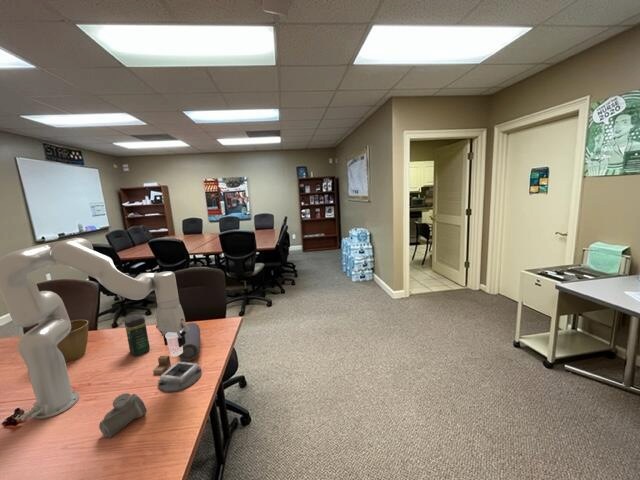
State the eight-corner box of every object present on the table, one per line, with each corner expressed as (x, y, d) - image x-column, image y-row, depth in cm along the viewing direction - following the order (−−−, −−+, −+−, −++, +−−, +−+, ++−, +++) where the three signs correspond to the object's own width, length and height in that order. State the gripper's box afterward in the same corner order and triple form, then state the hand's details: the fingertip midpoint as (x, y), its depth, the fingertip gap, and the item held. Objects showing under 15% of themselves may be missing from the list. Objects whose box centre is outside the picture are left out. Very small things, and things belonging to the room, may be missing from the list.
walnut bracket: (162, 374, 119) (160, 364, 118) (153, 374, 120) (151, 364, 119) (170, 365, 125) (169, 355, 124) (162, 365, 125) (160, 355, 125)
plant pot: (46, 364, 131) (38, 333, 128) (81, 346, 145) (74, 318, 142) (68, 368, 127) (60, 336, 124) (101, 350, 141) (95, 321, 138)
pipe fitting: (137, 406, 101) (130, 384, 98) (150, 415, 97) (142, 393, 94) (99, 434, 91) (90, 411, 88) (111, 446, 87) (102, 422, 84)
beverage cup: (188, 351, 115) (183, 319, 112) (174, 359, 110) (168, 326, 107) (179, 347, 118) (174, 316, 115) (165, 355, 113) (159, 323, 110)
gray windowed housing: (183, 394, 106) (181, 385, 105) (149, 389, 110) (147, 380, 110) (209, 368, 121) (208, 360, 121) (178, 364, 125) (177, 356, 125)
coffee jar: (152, 350, 138) (146, 315, 135) (134, 358, 132) (127, 322, 129) (145, 344, 144) (139, 310, 141) (128, 351, 139) (121, 316, 135)
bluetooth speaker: (201, 360, 128) (198, 340, 126) (178, 366, 124) (175, 345, 123) (202, 337, 148) (199, 319, 147) (183, 341, 145) (180, 323, 143)
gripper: (142, 305, 108) (150, 347, 112) (180, 308, 104) (186, 351, 107) (158, 298, 115) (165, 337, 119) (193, 300, 111) (199, 341, 114)
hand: (175, 344), depth 113 cm, fingers closed on beverage cup, 6 cm apart
